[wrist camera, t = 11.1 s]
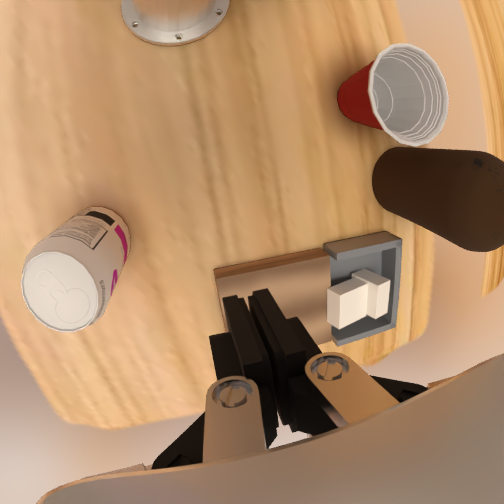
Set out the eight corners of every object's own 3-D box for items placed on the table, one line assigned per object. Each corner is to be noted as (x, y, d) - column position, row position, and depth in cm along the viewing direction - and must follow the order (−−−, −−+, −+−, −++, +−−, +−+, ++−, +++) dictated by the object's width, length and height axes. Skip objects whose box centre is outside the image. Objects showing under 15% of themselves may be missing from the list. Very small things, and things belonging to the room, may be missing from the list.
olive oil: (356, 198, 41) (512, 263, 18) (385, 128, 38) (549, 141, 15) (408, 227, 44) (544, 296, 21) (433, 165, 42) (577, 200, 19)
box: (323, 243, 42) (336, 253, 38) (385, 231, 43) (402, 238, 40) (326, 332, 47) (337, 346, 43) (382, 314, 48) (395, 327, 44)
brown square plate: (213, 269, 40) (216, 278, 37) (320, 247, 42) (329, 255, 39) (230, 353, 44) (233, 365, 41) (323, 330, 46) (331, 341, 44)
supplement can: (145, 240, 37) (127, 297, 23) (100, 284, 37) (68, 354, 23) (99, 191, 34) (51, 220, 20) (56, 238, 34) (0, 289, 20)
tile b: (378, 285, 39) (390, 279, 40) (351, 273, 43) (364, 268, 44) (375, 319, 40) (387, 312, 41) (350, 305, 45) (362, 299, 46)
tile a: (327, 288, 40) (340, 295, 38) (355, 277, 42) (368, 283, 40) (327, 321, 42) (339, 329, 40) (353, 309, 44) (366, 315, 42)
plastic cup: (323, 145, 38) (377, 149, 27) (312, 61, 34) (363, 35, 23) (393, 141, 39) (455, 146, 28) (384, 65, 36) (444, 51, 24)
